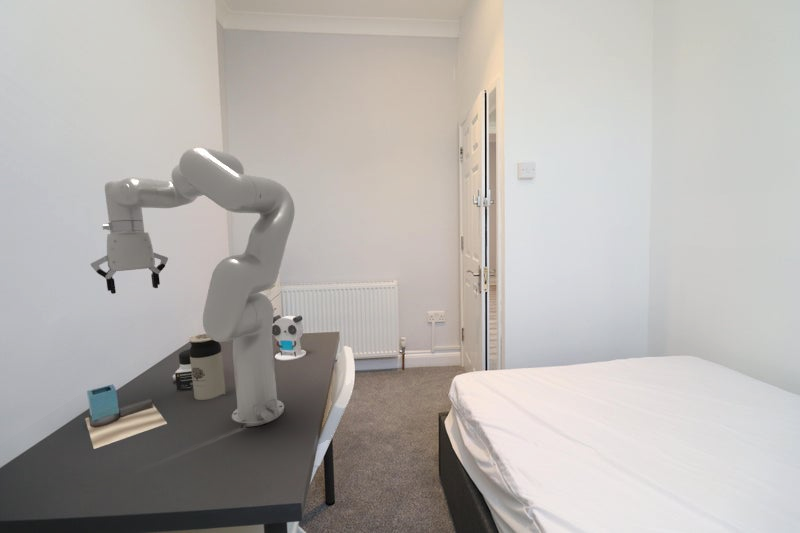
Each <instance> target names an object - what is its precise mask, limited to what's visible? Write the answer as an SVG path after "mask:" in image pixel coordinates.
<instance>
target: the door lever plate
mask: <svg viewBox="0 0 800 533" xmlns="http://www.w3.org/2000/svg"><path fill="white" fill-rule="evenodd" d="M118 408H119V413H117V414H113V415H110V416H107V417H104V418H100V419H97V420H94V421H92V418H91V415H90V414H89V417H86V418H85V417H84V419H85V423H86V427H87V430H88V433H89V437H90V441H91V444H92V447H93V449H94V450H95V449H99V448H101V447H104V446H106V445H110V444H112V443H116V442H118V441H121V440H125V439H127V438H130V437H132V436H135V435H138V434H141V433H143V432H144V433H145V432H147V431H150V430H154V429H155V428H159V427H162V426H165V425H167V424H168V423H167V421H166V419H165V418H164V417H163V415H162V414H161V413H160V411H159V410H158V409H157V408H156V406H155V405H154V403H153V400H152V398H148V399H145V400H142V401H138V402H134V403H132V404H128V405H125V406H122V407H121V406H120V407H118Z"/></svg>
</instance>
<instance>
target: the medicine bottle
mask: <svg viewBox="0 0 800 533" xmlns="http://www.w3.org/2000/svg"><path fill="white" fill-rule="evenodd" d="M189 350H190V348H189V349H185V350H183V351H181V352H180V353H179V354H178V359H179V368H178V369H177V370H176V371H175V372H174V374H175V377H176V381H175V386H176V392H183V391H184V392H185V391H191V390H193V391H194V388H193V380H192V371H191V362H190V353H189Z"/></svg>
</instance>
